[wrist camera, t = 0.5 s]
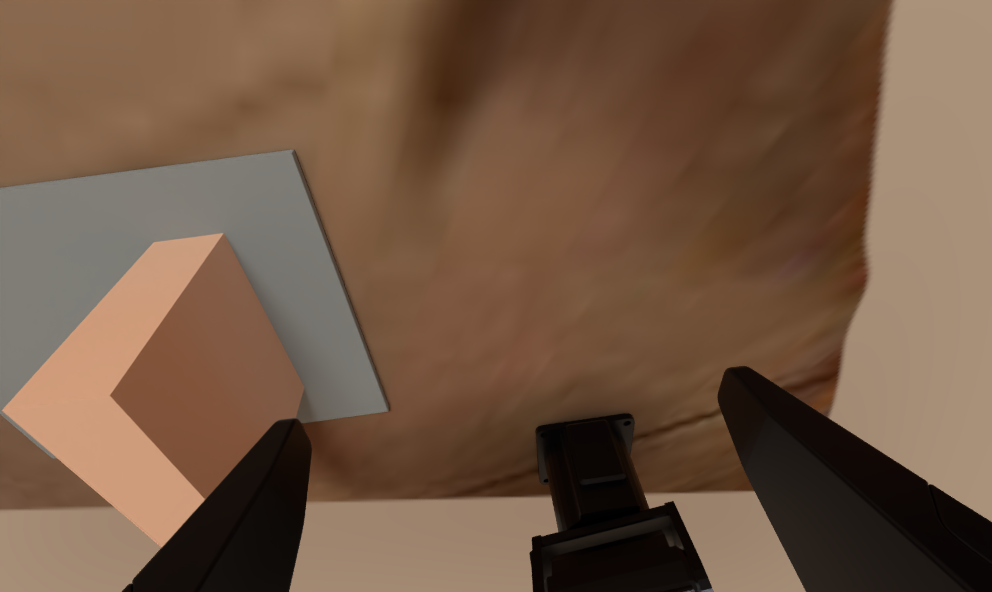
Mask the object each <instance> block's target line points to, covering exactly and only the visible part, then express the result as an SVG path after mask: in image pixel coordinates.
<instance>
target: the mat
mask: <svg viewBox="0 0 992 592" xmlns="http://www.w3.org/2000/svg"><path fill="white" fill-rule="evenodd" d="M220 233H224V234H225V236H226V238H227V240H228V242H229V244H230V246H231V248H232V250H233V252H234V253H235V255H236V257H237V259H238V261H239V263H240V265H241V267H242V269H243V271H244V273H245V275H246V276H247V278H248V280H249V282H250V284H251V286H252V288H253V290H254V292H255V294H256V296H257V298H258V299H259V301H260V303H261V305H262V307H263V309H264V311H265V313H266V315H267V317H268V319H269V321H270V322H271V324H272V326H273V328H274V330H275V332H276V334H277V336H278V338H279V340H280V342H281V344H282V345H283V347H284V349H285V351H286V353H287V355H288V357H289V359H290V361H291V363H292V365H293V367H294V368H295V370H296V372H297V374H298V376H299V378H300V380H301V382H302V384H303V386H304V391H303V394H302V398H301V401H300V404H299V408H298V411H297V415H296V418H297V419H299V420H300V422H301V424H302V423H309V422H316V421H324V420H331V419H338V418H345V417H352V416H359V415H366V414H373V413H381V412H388V410H389V405H388V402H387V400H386V397H385V394H384V391H383V389H382V386H381V383H380V381H379V378H378V375H377V373H376V370H375V367H374V364H373V362H372V359H371V356H370V354H369V351H368V348H367V346H366V343H365V340H364V337H363V335H362V332H361V329H360V327H359V324H358V321H357V318H356V316H355V313H354V310H353V308H352V305H351V302H350V300H349V297H348V294H347V291H346V289H345V286H344V283H343V281H342V278H341V275H340V272H339V270H338V267H337V264H336V262H335V259H334V256H333V254H332V251H331V248H330V245H329V243H328V240H327V237H326V235H325V232H324V229H323V227H322V224H321V221H320V218H319V216H318V213H317V210H316V208H315V205H314V202H313V199H312V197H311V194H310V191H309V189H308V186H307V183H306V181H305V178H304V175H303V172H302V170H301V167H300V164H299V162H298V159H297V156H296V154H295V151H294V149H293V150H285V151H278V152H270V153H263V154H255V155H247V156H240V157H232V158H224V159H217V160H209V161H202V162H194V163H186V164H179V165H171V166H163V167H156V168H148V169H140V170H133V171H125V172H118V173H110V174H102V175H95V176H87V177H79V178H72V179H64V180H57V181H49V182H41V183H34V184H26V185H18V186H11V187H3V188H0V414H1V415H2V416H3V417H4V418H5V419H6V420H8V421H9V422H10V423H11V424H12V425H14V426H15V427H16V428H17V429H18V430H19V431H21V432H22V433H23V434H24V435H25V436H27V437H28V438H29V439H30V440H31V441H32V442H34V443H35V444H36V445H37V446H38V447H39V448H41V449H42V450H43V451H44V452H45V453H47V454H48V455H49V456H50V457H51V458H52V459H53V458H57V457H55V456H54V455H53V454H52V453H51V452H50V451H48V450H47V449H46V448H45V447H44V446H43V445H41V444H40V443H39V442H38V441H37V440H36V439H34V438H33V437H32V436H31V435H30V434H29V433H27V432H26V431H25V430H24V429H23V428H22V427H20V426H19V425H18V424H17V423H16V422H15V421H13V420H12V419H11V418H10V417H9V416H8V415H6V414H5V413H4V412H3V411H2V410H3V409H4V407H5V406H6V405H7V404H8V403H9V402H10V401H11V400H12V399H13V397H14V396H15V395H16V394H17V393H18V392H19V391H20V390H21V389H22V388H23V386H24V385H25V384H26V383H27V382H28V381H29V380H30V379H31V378H32V376H33V375H34V374H35V373H36V372H37V371H38V370H39V369H40V368H41V366H42V365H43V364H44V363H45V362H46V361H47V360H48V359H49V358H50V357H51V355H52V354H53V353H54V352H55V351H56V350H57V349H58V348H59V347H60V345H61V344H62V343H63V342H64V341H65V340H66V339H67V338H68V337H69V336H70V334H71V333H72V332H73V331H74V330H75V329H76V328H77V327H78V326H79V324H80V323H81V322H82V321H83V320H84V319H85V318H86V317H87V316H88V314H89V313H90V312H91V311H92V310H93V309H94V308H95V307H96V306H97V305H98V303H99V302H100V301H101V300H102V299H103V298H104V297H105V296H106V295H107V293H108V292H109V291H110V290H111V289H112V288H113V287H114V286H115V285H116V283H117V282H118V281H119V280H120V279H121V278H122V277H123V276H124V275H125V274H126V272H127V271H128V270H129V269H130V268H131V267H132V266H133V265H134V264H135V262H136V261H137V260H138V259H139V258H140V257H141V256H142V255H143V254H144V253H145V251H146V250H147V249H148V248H149V247H150V246H151V245H152V244H153V243H154V242H160V241H168V240H175V239H182V238H190V237H197V236H205V235H212V234H220Z"/></svg>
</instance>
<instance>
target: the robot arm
mask: <svg viewBox="0 0 992 592" xmlns="http://www.w3.org/2000/svg"><path fill="white" fill-rule="evenodd" d="M718 403H719V406H720V409H721V412H722V414H723V417H724V419H725V422H726V425H727V427H728V430H729V433H730V435H731V438H732V440H733V443H734V446H735V448H736V451H737V453H738V456H739V459H740V461H741V464H742V466H743V468H744V471H745V473H746V475H747V477H748V479H749V481H750V483H751V485H752V487H753V489H754V491H755V493H756V495H757V497H758V499H759V500H760V502H761V505H762V506H763V508H764V510H765V512H766V514H767V516H768V518H769V520H770V522H771V524H772V526H773V528H774V530H775V532H776V534H777V536H778V538H779V540H780V542H781V544H782V546H783V547H784V549H785V551H786V553H787V555H788V557H789V559H790V561H791V563H792V565H793V567H794V569H795V571H796V573H797V575H798V577H799V579H800V581H801V583H802V585H803V586H804V588H805V590H806V592H992V522H991V521H989V520H988V519H986V518H984V517H983V516H981V515H979V514H978V513H976V512H975V511H973V510H972V509H970V508H968V507H967V506H965V505H963V504H962V503H960V502H959V501H957V500H955V499H954V498H952V497H951V496H949V495H948V494H946V493H944V492H943V491H941V490H940V489H938V488H937V487H935V486H934V485H931V484H930V485H928V482H927V481H926V480H924V479H922V478H921V477H919V476H918V475H916V474H915V473H913V472H912V471H910V470H909V469H907V468H905V467H904V466H902V465H901V464H899V463H898V462H896V461H894V460H893V459H891V458H890V457H888V456H887V455H885V454H883V453H882V452H880V451H879V450H877V449H876V448H874V447H873V446H871V445H870V444H868V443H866V442H864V441H863V440H862V439H860V438H859V437H857V436H856V435H854V434H852V433H851V432H849V431H848V430H846V429H845V428H843V427H841V426H840V425H838V424H837V423H835V422H834V421H832V420H831V419H829V418H827V417H826V416H824V415H823V414H821V413H820V412H818V411H817V410H815V409H813V408H812V407H810V406H809V405H807V404H806V403H804V402H803V401H801V400H799V399H798V398H796V397H795V396H793V395H792V394H790V393H789V392H787V391H785V390H784V389H782V388H781V387H779V386H778V385H776V384H774V383H773V382H771V381H770V380H768V379H767V378H765V377H764V376H762V375H760V374H759V373H757V372H756V371H754V370H753V369H751V368H749V367H747V366H739V367H730V368H727V369H726V370H725V372H724V375H723V378H722V381H721V385H720V388H719V391H718ZM634 424H635V421H634V418H633V416H632V415H631V414H620V415H613V416H606V417H599V418H592V419H585V420H578V421H571V422H564V423H556V424H549V425H543V426H539V427H538V428H537V429H536V443H537V456H538V469H539V479H540V483H541V484H549V486H550V491H551V496H552V501H553V506H554V511H555V516H556V521H557V526H558V531H559V532H558V533H554V534H550V535H546V536H542V537H541V535H539V536H535V537H532V549H533V550H532V551H531V552H530V560H531V567H532V580H533V592H713V589H712V587H711V584H710V581H709V579H708V576H707V574H706V572H705V569H704V567H703V565H702V563H701V560H700V558H699V556H698V553H697V551H696V549H695V547H694V545H693V543H692V540H691V538H690V536H689V534H688V532H687V530H686V527H685V525H684V523H683V521H682V519H681V516H680V514H679V512H678V510H677V508H676V506H675V504H674V502H673V501H672V502H668V503H665V505H663V506H659V507H655V508H651V509H649V506H648V504H647V501H646V498H645V495H644V493H643V490H642V487H641V484H640V482H639V479H638V476H637V473H636V471H635V468H634V465H633V462H632V460H631V457H630V453H631V446H632V439H633V431H634ZM311 454H312V448H311V442H310V440H309V438H308V436H307V434H306V432H305V430H304V428H303V426H302V424H301V422H300V420H299V419H297V418H290V419H281V420H278V421H276V422H275V423H274V424H273V425H272V426H271V427H270V428H269V429H268V430H267V431H266V433H265V434H264V435H263V436H262V437H261V438H260V439H259V440H258V441H257V443H256V444H255V445H254V446H253V447H252V448H251V449H250V450H249V451H248V452H247V454H246V455H245V456H244V457H243V458H242V459H241V460H240V461H239V462H238V464H237V465H236V466H235V467H234V468H233V469H232V470H231V471H230V472H229V474H228V475H227V476H226V477H225V478H224V479H223V480H222V481H221V482H220V484H219V485H218V486H217V487H216V488H215V489H214V490H213V491H212V492H211V494H210V495H209V496H208V497H207V498H206V499H205V500H204V501H203V502H202V504H201V505H200V506H199V507H198V508H197V509H196V510H195V511H194V512H193V513H192V515H191V516H190V517H189V518H188V519H187V520H186V521H185V522H184V523H183V525H182V526H181V527H180V528H179V529H178V530H177V531H176V532H175V533H174V535H173V536H172V537H171V538H170V539H169V540H168V541H167V542H166V543H165V545H164V546H163V547H162V548H161V549H160V550H159V551H158V552H157V553H156V555H155V556H154V557H153V558H152V559H151V560H150V561H149V562H148V563H147V565H146V566H145V567H144V568H143V569H142V570H141V571H140V572H139V574H137V576H136V577H135V578H134V579H133V581H132V584H129V585H127V587H126V588H125V589H124V590H123V591H122V592H289V589H290V585H291V580H292V576H293V572H294V567H295V563H296V558H297V553H298V549H299V544H300V540H301V535H302V530H303V525H304V518H305V510H306V501H307V491H308V482H309V473H310V463H311Z"/></svg>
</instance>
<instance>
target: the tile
mask: <svg viewBox="0 0 992 592" xmlns="http://www.w3.org/2000/svg"><path fill="white" fill-rule="evenodd" d="M303 391H304V386H303V384H302V382H301V380H300V378H299V376H298V374H297V372H296V370H295V368H294V367H293V365H292V363H291V361H290V359H289V357H288V355H287V353H286V351H285V349H284V347H283V345H282V344H281V342H280V340H279V338H278V336H277V334H276V332H275V330H274V328H273V326H272V324H271V322H270V321H269V319H268V317H267V315H266V313H265V311H264V309H263V307H262V305H261V303H260V301H259V299H258V298H257V296H256V294H255V292H254V290H253V288H252V286H251V284H250V282H249V280H248V278H247V276H246V275H245V273H244V271H243V269H242V267H241V265H240V263H239V261H238V259H237V257H236V255H235V253H234V252H233V250H232V248H231V246H230V244H229V242H228V240H227V238H226V236H225V234H224V233H220V234H212V235H205V236H197V237H190V238H182V239H175V240H168V241H160V242H154V243H153V244H152V245H151V246H150V247H149V248H148V249H147V250H146V251H145V253H144V254H143V255H142V256H141V257H140V258H139V259H138V260H137V261H136V262H135V264H134V265H133V266H132V267H131V268H130V269H129V270H128V271H127V272H126V274H125V275H124V276H123V277H122V278H121V279H120V280H119V281H118V282H117V283H116V285H115V286H114V287H113V288H112V289H111V290H110V291H109V292H108V293H107V295H106V296H105V297H104V298H103V299H102V300H101V301H100V302H99V303H98V305H97V306H96V307H95V308H94V309H93V310H92V311H91V312H90V313H89V314H88V316H87V317H86V318H85V319H84V320H83V321H82V322H81V323H80V324H79V326H78V327H77V328H76V329H75V330H74V331H73V332H72V333H71V334H70V336H69V337H68V338H67V339H66V340H65V341H64V342H63V343H62V344H61V345H60V347H59V348H58V349H57V350H56V351H55V352H54V353H53V354H52V355H51V357H50V358H49V359H48V360H47V361H46V362H45V363H44V364H43V365H42V366H41V368H40V369H39V370H38V371H37V372H36V373H35V374H34V375H33V376H32V378H31V379H30V380H29V381H28V382H27V383H26V384H25V385H24V386H23V388H22V389H21V390H20V391H19V392H18V393H17V394H16V395H15V396H14V397H13V399H12V400H11V401H10V402H9V403H8V404H7V405H6V406H5V407H4V409H3V410H2V411H3V412H4V413H5V414H6V415H8V416H9V417H10V418H11V419H12V420H13V421H15V422H16V423H17V424H18V425H19V426H20V427H22V428H23V429H24V430H25V431H26V432H27V433H29V434H30V435H31V436H32V437H33V438H34V439H36V440H37V441H38V442H39V443H40V444H41V445H43V446H44V447H45V448H46V449H47V450H48V451H50V452H51V453H52V454H53V455H54V456H55V457H57V458H58V459H59V460H60V461H61V462H62V463H64V464H65V465H66V466H67V467H68V468H69V469H71V470H72V471H73V472H74V473H75V474H76V475H78V476H79V477H80V478H81V479H82V480H83V481H85V482H86V483H87V484H88V485H89V486H90V487H92V488H93V489H94V490H95V491H96V492H97V493H99V494H100V495H101V496H102V497H103V498H104V499H106V500H107V501H108V502H109V503H110V504H111V505H113V506H114V507H115V508H116V509H117V510H118V511H120V512H121V513H122V514H123V515H124V516H125V517H127V518H128V519H129V520H130V521H131V522H132V523H134V524H135V525H136V526H137V527H138V528H140V529H141V530H142V531H143V532H144V533H145V534H147V535H148V536H149V537H150V538H151V539H152V540H154V541H155V542H156V543H157V544H158V545H159V546H160V547H163V546H164V545H165V543H166V542H167V541H168V540H169V539H170V538H171V537H172V536H173V535H174V533H175V532H176V531H177V530H178V529H179V528H180V527H181V526H182V525H183V523H184V522H185V521H186V520H187V519H188V518H189V517H190V516H191V515H192V513H193V512H194V511H195V510H196V509H197V508H198V507H199V506H200V505H201V504H202V502H203V501H204V500H205V499H206V498H207V497H208V496H209V495H210V494H211V492H212V491H213V490H214V489H215V488H216V487H217V486H218V485H219V484H220V482H221V481H222V480H223V479H224V478H225V477H226V476H227V475H228V474H229V472H230V471H231V470H232V469H233V468H234V467H235V466H236V465H237V464H238V462H239V461H240V460H241V459H242V458H243V457H244V456H245V455H246V454H247V452H248V451H249V450H250V449H251V448H252V447H253V446H254V445H255V444H256V443H257V441H258V440H259V439H260V438H261V437H262V436H263V435H264V434H265V433H266V431H267V430H268V429H269V428H270V427H271V426H272V425H273V424H274V423H275V422H276V421H278V420H281V419H290V418H296V415H297V411H298V408H299V404H300V401H301V398H302V394H303Z"/></svg>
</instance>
